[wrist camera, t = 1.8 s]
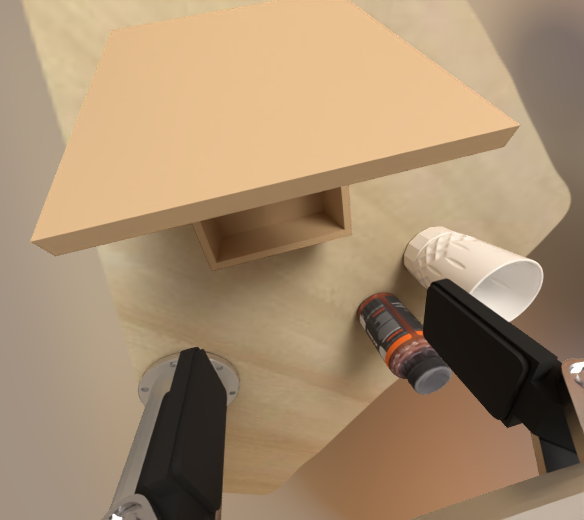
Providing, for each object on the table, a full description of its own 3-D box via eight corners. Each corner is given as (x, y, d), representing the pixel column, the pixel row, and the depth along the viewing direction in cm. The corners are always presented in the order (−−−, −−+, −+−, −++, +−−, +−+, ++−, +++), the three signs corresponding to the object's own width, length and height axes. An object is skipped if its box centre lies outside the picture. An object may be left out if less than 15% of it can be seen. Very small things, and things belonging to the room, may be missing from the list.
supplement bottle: (349, 322, 34) (394, 401, 24) (366, 287, 31) (424, 358, 21) (385, 327, 35) (440, 401, 26) (404, 293, 33) (473, 361, 23)
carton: (329, 214, 26) (352, 234, 20) (216, 242, 25) (210, 271, 20) (309, 44, 19) (335, 10, 14) (153, 75, 18) (117, 51, 13)
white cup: (464, 218, 29) (559, 254, 21) (446, 274, 33) (520, 325, 24) (405, 223, 28) (479, 264, 19) (393, 281, 32) (451, 337, 23)
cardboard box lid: (503, 146, 7) (520, 125, 6) (55, 256, 6) (30, 241, 5) (333, 5, 14) (334, -11, 13) (119, 45, 13) (111, 30, 12)
